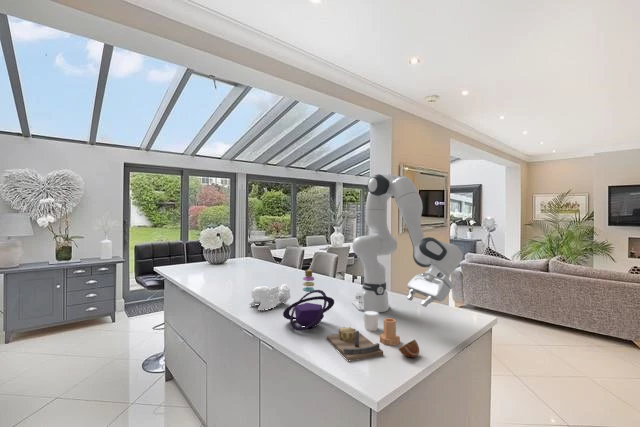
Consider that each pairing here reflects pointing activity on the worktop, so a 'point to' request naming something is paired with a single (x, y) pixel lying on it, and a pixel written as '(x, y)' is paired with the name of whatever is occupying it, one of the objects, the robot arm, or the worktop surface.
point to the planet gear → (389, 333)
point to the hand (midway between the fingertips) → (415, 302)
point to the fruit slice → (410, 349)
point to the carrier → (354, 344)
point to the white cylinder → (371, 320)
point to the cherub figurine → (270, 296)
